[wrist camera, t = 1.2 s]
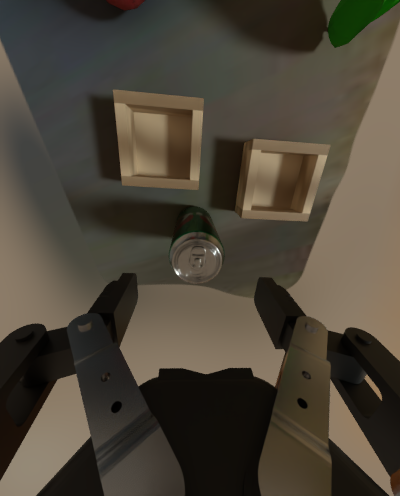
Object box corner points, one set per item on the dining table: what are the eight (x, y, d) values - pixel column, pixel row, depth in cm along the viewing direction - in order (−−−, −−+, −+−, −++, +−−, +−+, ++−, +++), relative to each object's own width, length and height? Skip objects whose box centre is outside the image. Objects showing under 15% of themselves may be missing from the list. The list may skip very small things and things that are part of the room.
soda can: (176, 239, 28) (167, 286, 17) (176, 204, 26) (167, 233, 15) (210, 240, 28) (223, 288, 17) (213, 206, 26) (230, 236, 15)
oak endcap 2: (244, 142, 23) (253, 138, 20) (309, 148, 24) (330, 145, 20) (234, 211, 26) (241, 218, 23) (292, 214, 27) (307, 221, 24)
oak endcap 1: (125, 102, 21) (112, 89, 17) (201, 109, 21) (203, 98, 18) (132, 182, 24) (122, 185, 21) (197, 186, 25) (198, 189, 21)
